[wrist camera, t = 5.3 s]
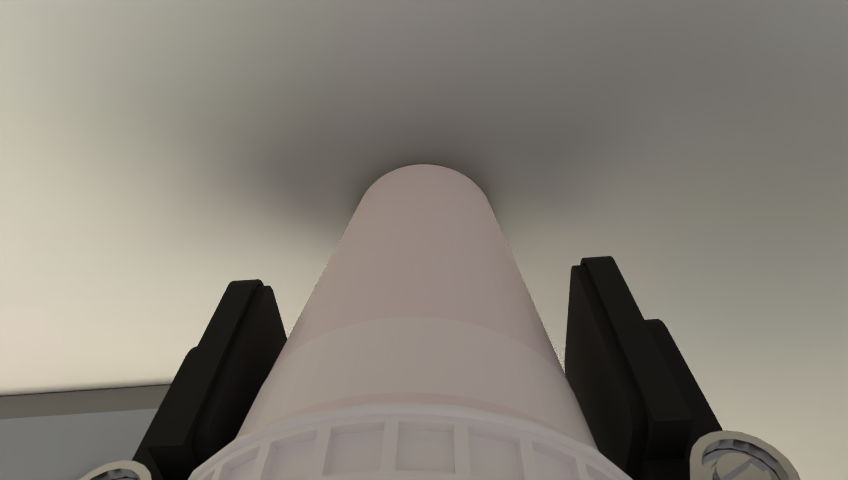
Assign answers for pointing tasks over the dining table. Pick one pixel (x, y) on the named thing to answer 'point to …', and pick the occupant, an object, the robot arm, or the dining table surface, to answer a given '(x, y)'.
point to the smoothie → (416, 357)
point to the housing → (73, 431)
